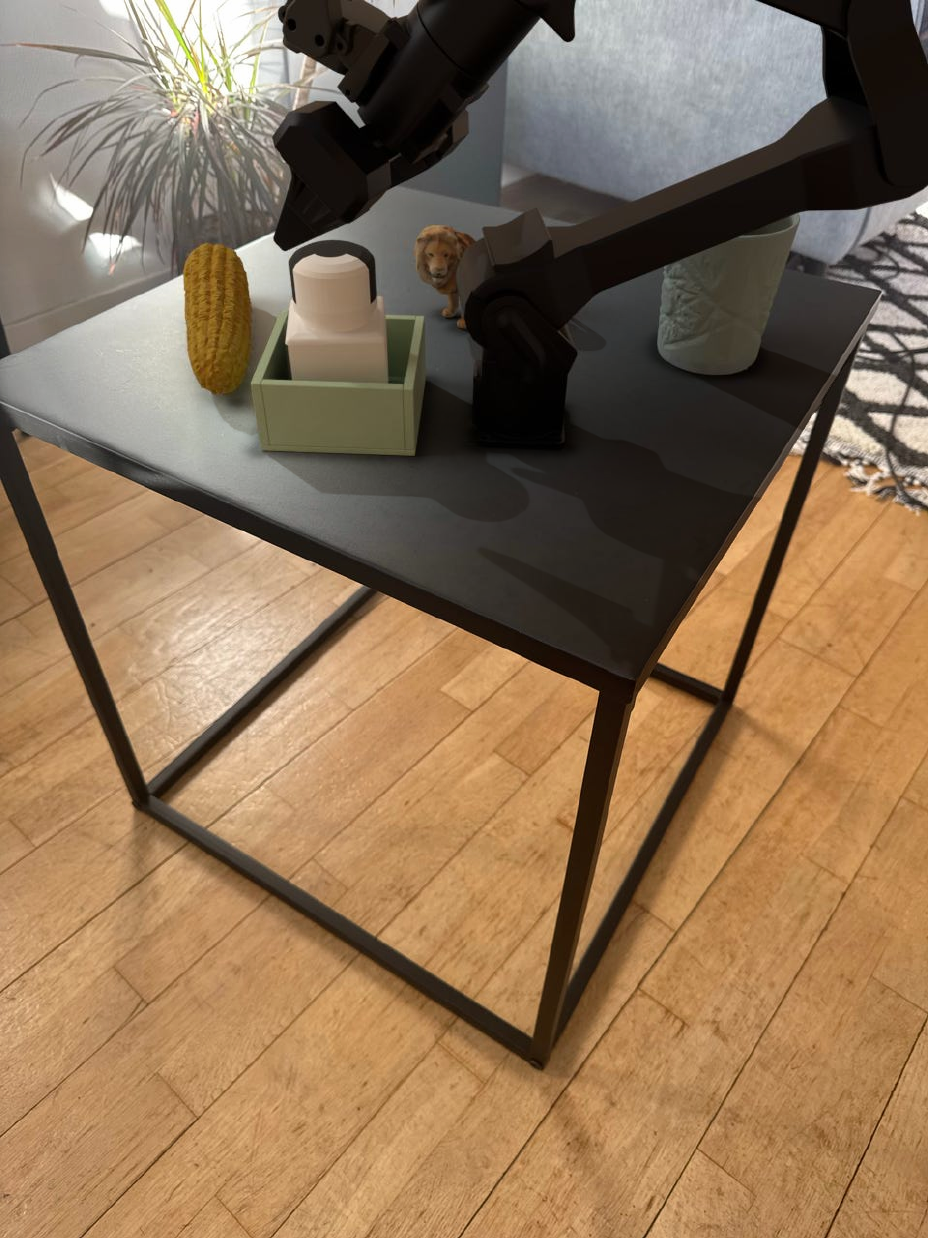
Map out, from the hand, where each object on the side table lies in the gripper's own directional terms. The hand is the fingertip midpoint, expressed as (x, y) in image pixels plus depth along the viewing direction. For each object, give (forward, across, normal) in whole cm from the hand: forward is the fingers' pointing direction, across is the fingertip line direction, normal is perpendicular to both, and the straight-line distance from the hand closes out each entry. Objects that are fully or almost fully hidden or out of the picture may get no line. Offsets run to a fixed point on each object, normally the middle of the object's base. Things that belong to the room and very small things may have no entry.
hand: (310, 224), depth 65 cm
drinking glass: (-8, -20, +29) cm, 36 cm away
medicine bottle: (+9, -1, +10) cm, 14 cm away
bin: (+9, 0, +11) cm, 14 cm away
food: (+18, -6, 0) cm, 20 cm away
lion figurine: (+5, -20, +14) cm, 25 cm away
